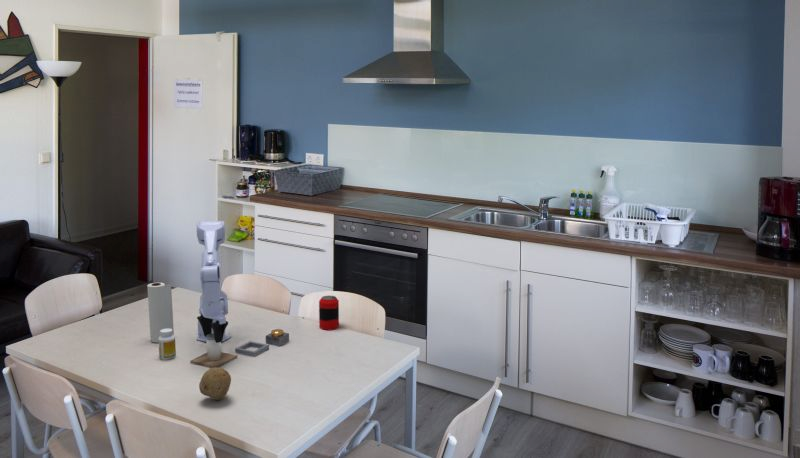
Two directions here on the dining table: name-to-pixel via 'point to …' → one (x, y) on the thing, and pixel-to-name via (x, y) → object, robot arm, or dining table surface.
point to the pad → (213, 363)
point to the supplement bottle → (166, 344)
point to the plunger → (277, 332)
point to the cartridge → (213, 348)
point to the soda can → (328, 313)
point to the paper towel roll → (159, 309)
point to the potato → (215, 383)
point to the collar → (243, 350)
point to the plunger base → (277, 339)
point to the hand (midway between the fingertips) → (213, 338)
